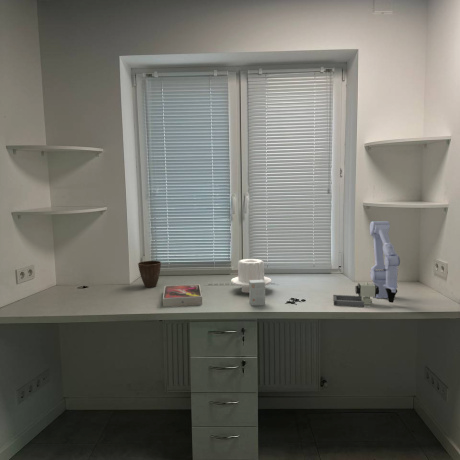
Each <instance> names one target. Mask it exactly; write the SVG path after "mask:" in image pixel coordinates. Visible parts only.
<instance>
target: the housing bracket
mask: <svg viewBox="0 0 460 460" xmlns="http://www.w3.org/2000/svg"><path fill="white" fill-rule="evenodd" d="M332 296H333V297H332V299H333V300H332V301H333V305H334V306H340V307H342V306H345V307H359V308H361V307H362V308H364V307H365V305H364V301H361V299H363V297H359V295H347V294H346V295H345V294H333V295H332Z"/></svg>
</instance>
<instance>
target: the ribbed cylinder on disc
mask: <svg viewBox="0 0 460 460" xmlns="http://www.w3.org/2000/svg"><path fill="white" fill-rule="evenodd" d="M249 280H263V281H264V282H265V287H266V286H268V285H270V284H272V279H271V278H270V277H267V276H265V262H264V260H262V259H257V258H244V259H239V260H238V262H237V276H236V277H233V278H232V279H231V281H230V282H231V284H233V286H237V287H241V292H242V293H248V294H249Z"/></svg>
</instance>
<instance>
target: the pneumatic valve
mask: <svg viewBox="0 0 460 460" xmlns="http://www.w3.org/2000/svg"><path fill="white" fill-rule="evenodd" d="M354 290H355V294H356V295H357V296H359V297H362V299H361V301H364V306H365V305H368V306H369V305H371V304H372V303H373V299H372V298H373V297H376V295H377V294H379V287H378V286H376V285H375V284H373V283H369V282H365V283H361V282H360V283H357V285H355V288H354Z"/></svg>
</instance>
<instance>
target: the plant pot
mask: <svg viewBox="0 0 460 460" xmlns="http://www.w3.org/2000/svg"><path fill="white" fill-rule="evenodd" d="M137 266H138V270H139V274H140V277H141V281H142V283H143V285H144V287H145V288H148V289H149V288H150V289H152V288H156V287H157V285H158V282H159V279H160V274H161V273H160V272H161V268H162V267H161V266H162V261H160V260H145V261H140V262H138V263H137Z"/></svg>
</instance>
